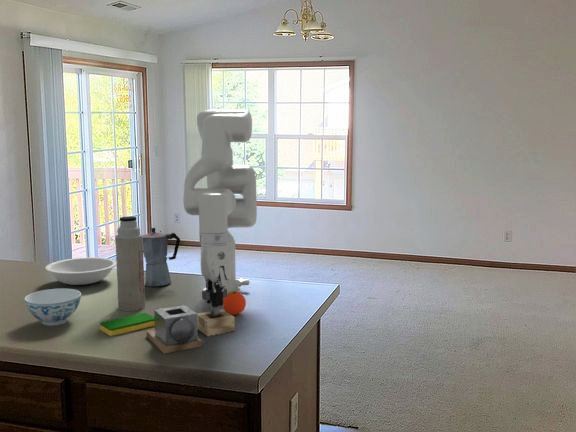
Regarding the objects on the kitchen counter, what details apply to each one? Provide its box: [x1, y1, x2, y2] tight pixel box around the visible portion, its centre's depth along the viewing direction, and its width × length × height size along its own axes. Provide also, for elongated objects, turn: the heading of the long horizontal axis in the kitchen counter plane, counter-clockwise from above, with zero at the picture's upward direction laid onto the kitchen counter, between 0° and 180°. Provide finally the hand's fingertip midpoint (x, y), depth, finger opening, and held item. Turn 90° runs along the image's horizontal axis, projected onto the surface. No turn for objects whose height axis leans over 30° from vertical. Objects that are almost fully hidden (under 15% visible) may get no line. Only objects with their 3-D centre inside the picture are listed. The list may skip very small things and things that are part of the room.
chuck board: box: [146, 329, 203, 354], centre depth 159 cm, size 10×14×2 cm
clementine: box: [222, 291, 247, 316], centre depth 181 cm, size 8×7×7 cm
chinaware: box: [24, 288, 82, 327], centre depth 174 cm, size 15×15×8 cm
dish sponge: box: [99, 312, 155, 337], centre depth 170 cm, size 7×14×2 cm, turn 131°
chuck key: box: [201, 288, 227, 319], centre depth 168 cm, size 6×3×11 cm, turn 120°
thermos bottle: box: [115, 216, 146, 312], centre depth 187 cm, size 8×8×28 cm
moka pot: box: [142, 227, 181, 288], centre depth 214 cm, size 10×15×20 cm, turn 95°
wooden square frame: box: [197, 308, 236, 337], centre depth 168 cm, size 8×8×4 cm
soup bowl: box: [44, 256, 117, 286], centre depth 217 cm, size 24×24×7 cm
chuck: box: [153, 304, 199, 346], centre depth 160 cm, size 19×8×7 cm, turn 30°
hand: (214, 303), depth 167 cm, fingers closed on chuck key, 2 cm apart
